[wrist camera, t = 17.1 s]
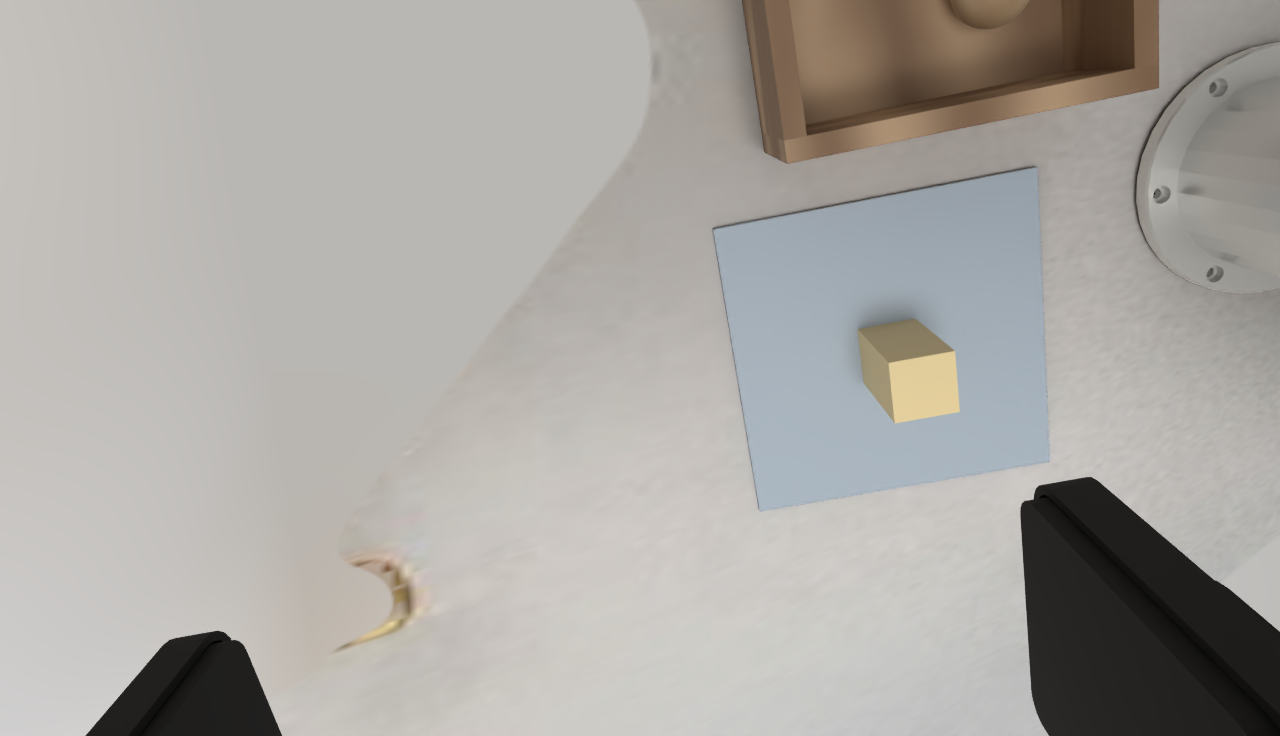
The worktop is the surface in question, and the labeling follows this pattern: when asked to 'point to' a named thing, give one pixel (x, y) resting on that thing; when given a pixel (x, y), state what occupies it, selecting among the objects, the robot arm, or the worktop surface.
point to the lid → (890, 339)
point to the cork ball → (987, 12)
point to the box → (933, 67)
